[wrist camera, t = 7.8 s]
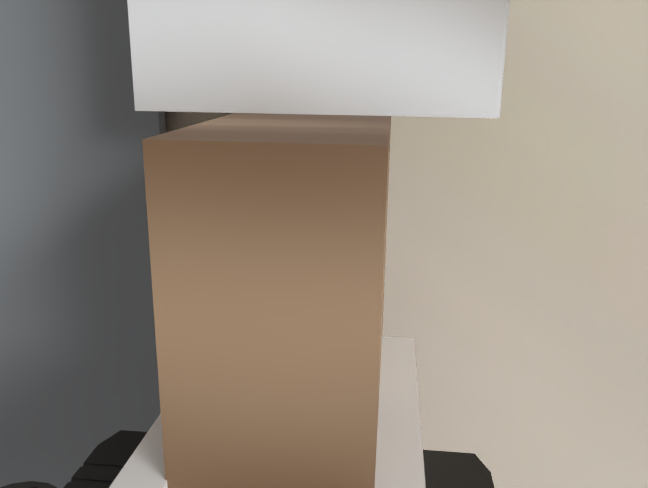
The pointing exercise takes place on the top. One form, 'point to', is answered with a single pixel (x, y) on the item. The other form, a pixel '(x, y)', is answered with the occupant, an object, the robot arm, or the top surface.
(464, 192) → the top surface
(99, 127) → the tool mat
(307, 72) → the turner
